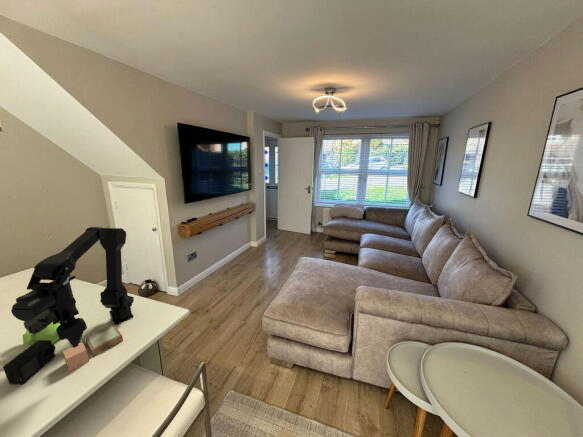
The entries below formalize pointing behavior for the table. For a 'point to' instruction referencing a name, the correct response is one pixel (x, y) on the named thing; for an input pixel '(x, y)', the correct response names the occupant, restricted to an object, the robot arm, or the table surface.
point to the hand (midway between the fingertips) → (72, 339)
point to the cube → (76, 356)
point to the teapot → (42, 335)
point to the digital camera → (29, 362)
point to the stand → (103, 339)
